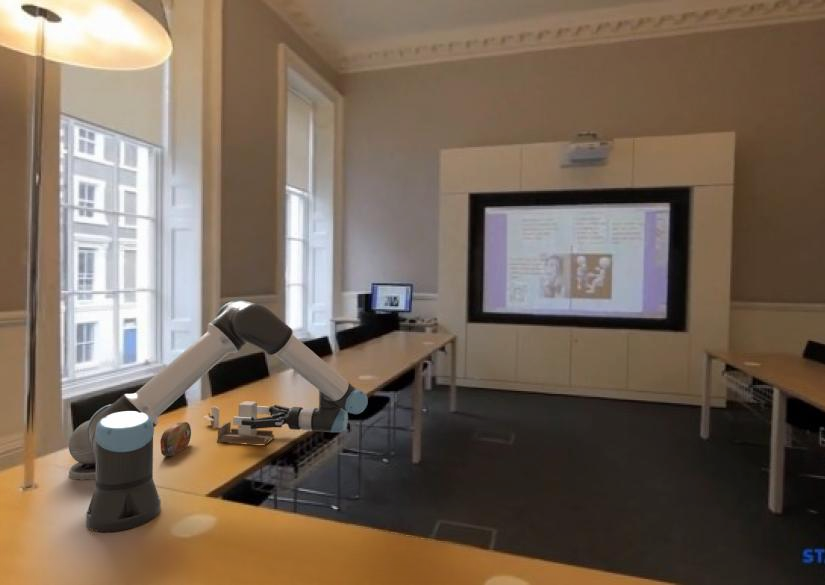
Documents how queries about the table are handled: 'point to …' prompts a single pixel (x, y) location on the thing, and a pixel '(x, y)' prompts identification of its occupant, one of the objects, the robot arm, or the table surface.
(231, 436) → the rack
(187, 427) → the tin
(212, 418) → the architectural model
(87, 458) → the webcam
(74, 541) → the table surface
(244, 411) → the clay bar
